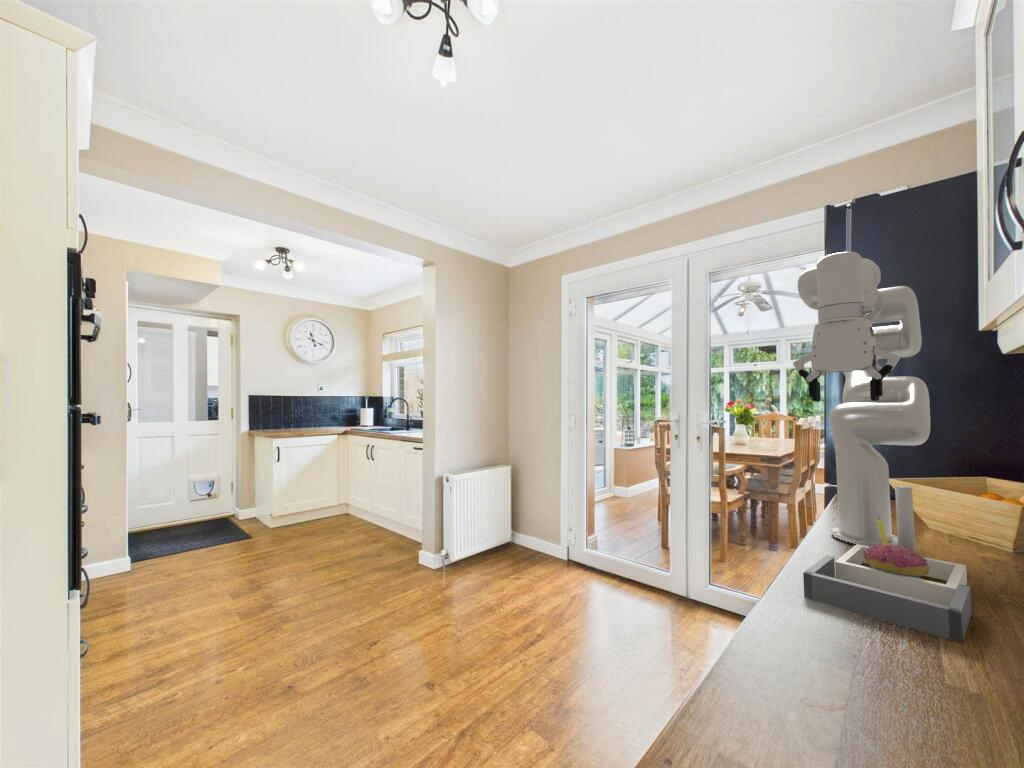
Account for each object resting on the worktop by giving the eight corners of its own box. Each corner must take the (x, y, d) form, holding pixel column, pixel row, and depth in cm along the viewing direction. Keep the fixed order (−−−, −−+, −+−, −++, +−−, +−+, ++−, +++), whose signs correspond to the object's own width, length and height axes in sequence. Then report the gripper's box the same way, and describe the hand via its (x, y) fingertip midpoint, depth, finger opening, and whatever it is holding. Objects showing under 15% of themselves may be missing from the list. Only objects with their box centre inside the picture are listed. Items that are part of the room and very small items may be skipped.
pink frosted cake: (863, 588, 76) (860, 518, 76) (866, 573, 82) (863, 508, 83) (931, 603, 70) (928, 526, 70) (929, 586, 76) (925, 516, 77)
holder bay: (827, 577, 81) (826, 554, 81) (971, 613, 67) (970, 586, 67) (804, 597, 73) (803, 572, 73) (962, 643, 59) (960, 612, 59)
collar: (857, 558, 89) (854, 480, 89) (967, 581, 77) (962, 492, 77) (835, 578, 79) (832, 491, 80) (956, 608, 67) (951, 506, 68)
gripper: (901, 310, 84) (905, 400, 84) (798, 323, 98) (801, 400, 97) (892, 306, 80) (897, 400, 79) (786, 320, 93) (789, 401, 92)
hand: (844, 400), depth 88 cm, fingers open, 9 cm apart
